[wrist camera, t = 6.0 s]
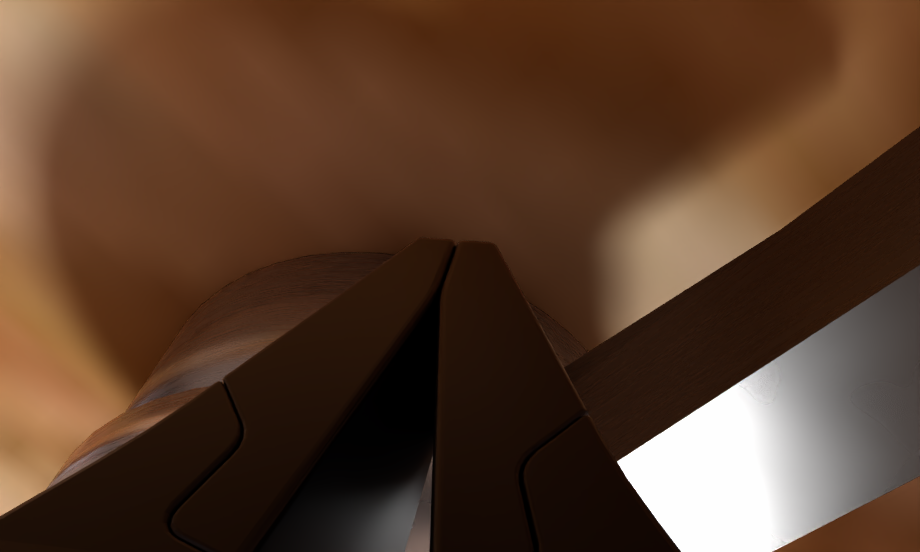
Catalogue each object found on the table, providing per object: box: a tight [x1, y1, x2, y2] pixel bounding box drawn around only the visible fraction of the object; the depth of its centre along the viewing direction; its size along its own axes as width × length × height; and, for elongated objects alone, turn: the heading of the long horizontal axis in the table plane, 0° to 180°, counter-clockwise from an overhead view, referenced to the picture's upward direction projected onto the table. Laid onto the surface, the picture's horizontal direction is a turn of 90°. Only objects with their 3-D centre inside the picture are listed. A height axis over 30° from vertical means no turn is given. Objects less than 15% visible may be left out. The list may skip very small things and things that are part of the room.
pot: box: [126, 230, 780, 412], centre depth 19 cm, size 12×23×4 cm, turn 135°
